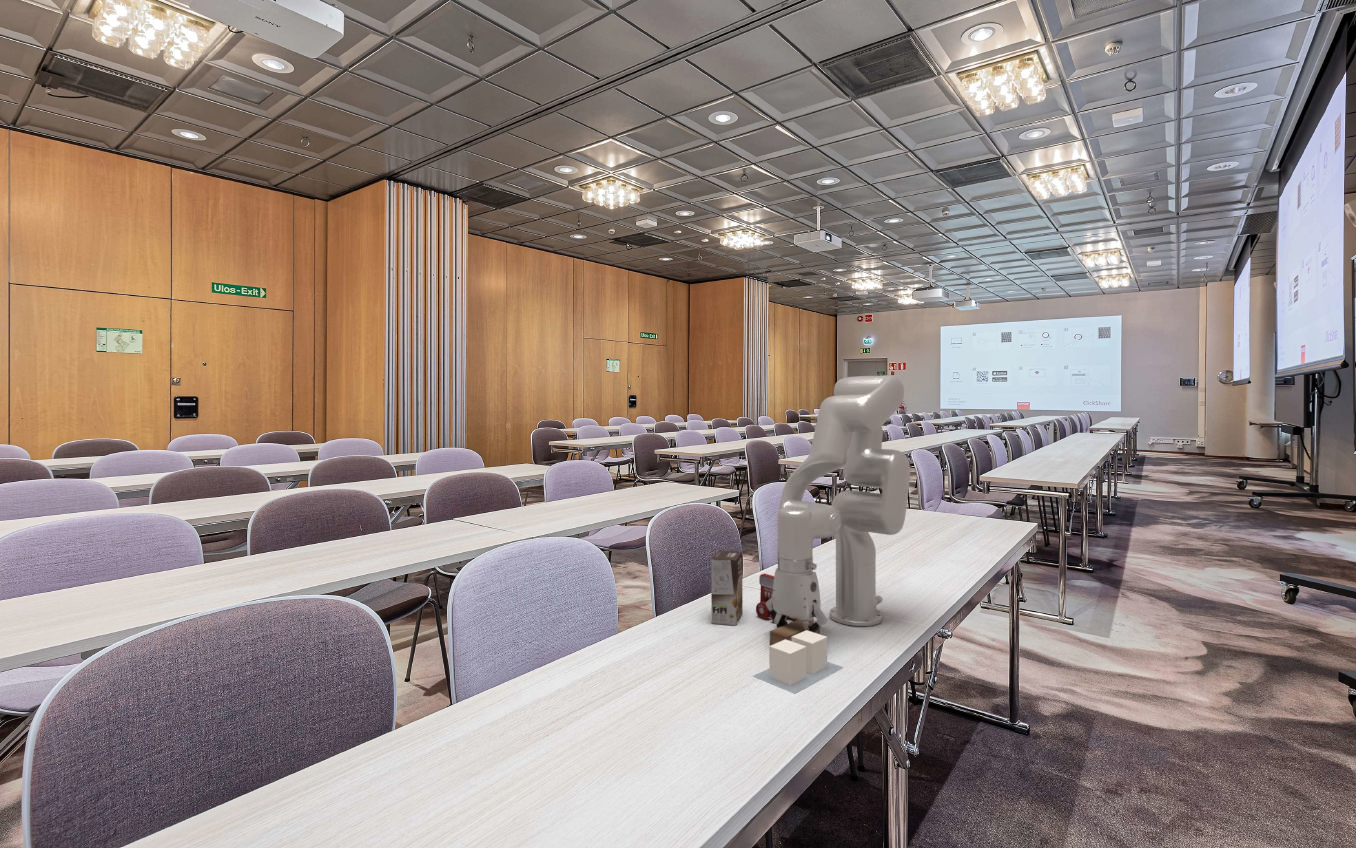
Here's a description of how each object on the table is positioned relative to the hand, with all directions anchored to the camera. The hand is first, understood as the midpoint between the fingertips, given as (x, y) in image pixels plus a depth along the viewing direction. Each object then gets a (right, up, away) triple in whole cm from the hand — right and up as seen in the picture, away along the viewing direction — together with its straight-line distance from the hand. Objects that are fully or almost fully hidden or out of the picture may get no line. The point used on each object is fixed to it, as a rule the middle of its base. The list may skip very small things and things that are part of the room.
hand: (795, 645), depth 135 cm
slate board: (-2, -1, -14) cm, 14 cm away
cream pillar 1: (-5, 0, -16) cm, 17 cm away
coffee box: (-13, 0, +19) cm, 23 cm away
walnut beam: (0, -1, 0) cm, 1 cm away
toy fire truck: (-1, 0, +18) cm, 18 cm away
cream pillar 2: (+1, 0, -12) cm, 12 cm away
